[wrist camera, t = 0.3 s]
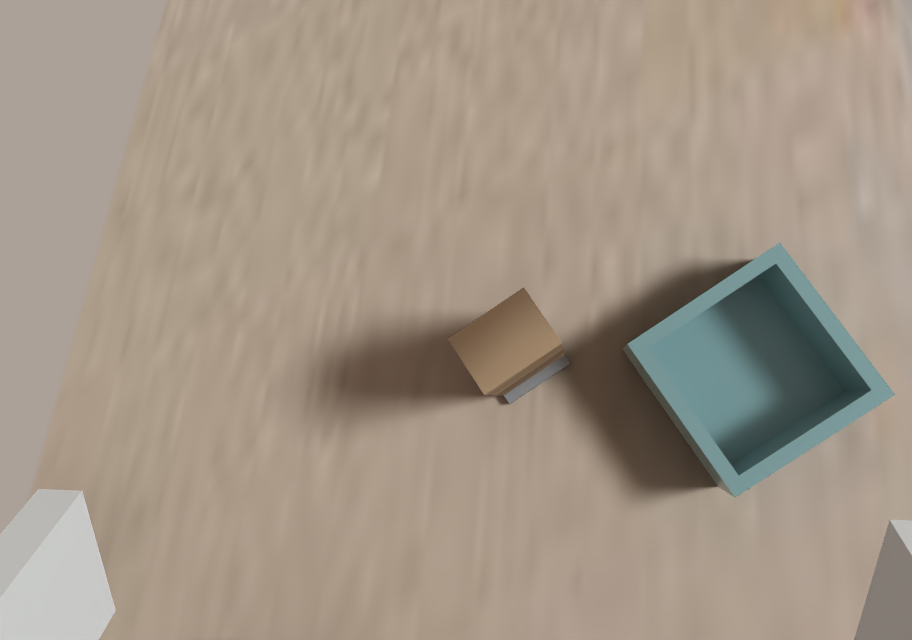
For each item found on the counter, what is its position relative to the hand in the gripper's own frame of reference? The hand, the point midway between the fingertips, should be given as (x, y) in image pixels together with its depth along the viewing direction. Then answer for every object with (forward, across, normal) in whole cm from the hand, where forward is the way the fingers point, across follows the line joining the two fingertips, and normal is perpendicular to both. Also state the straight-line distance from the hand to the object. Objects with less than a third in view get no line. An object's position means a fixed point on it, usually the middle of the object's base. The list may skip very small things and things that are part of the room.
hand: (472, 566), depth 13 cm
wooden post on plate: (+33, -1, +14) cm, 35 cm away
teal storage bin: (+31, -14, +14) cm, 37 cm away
